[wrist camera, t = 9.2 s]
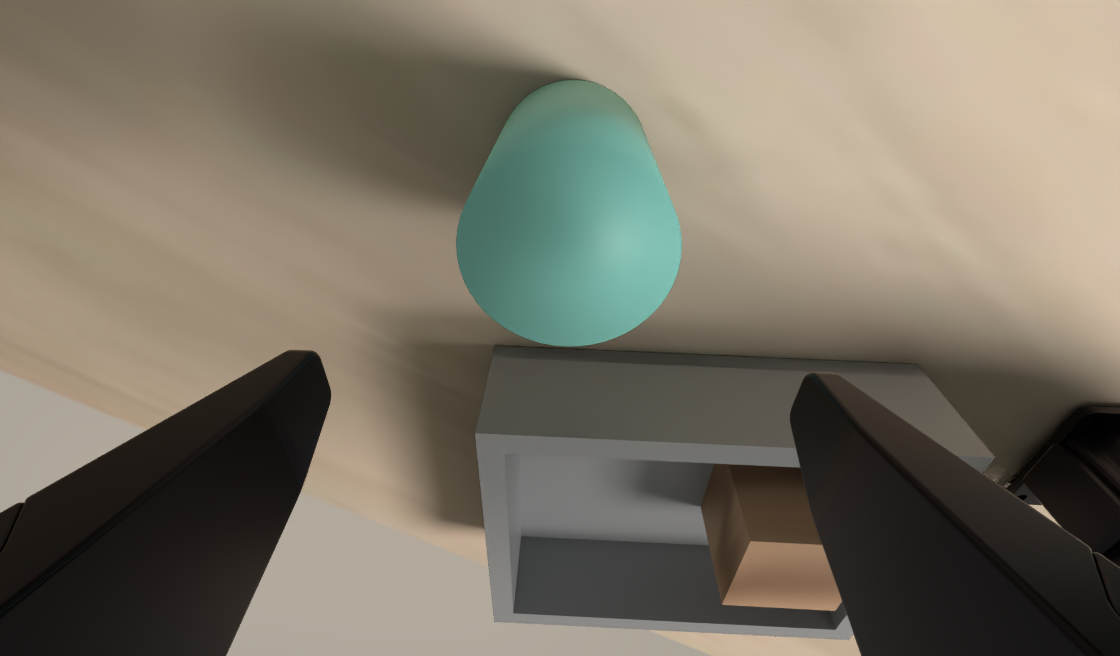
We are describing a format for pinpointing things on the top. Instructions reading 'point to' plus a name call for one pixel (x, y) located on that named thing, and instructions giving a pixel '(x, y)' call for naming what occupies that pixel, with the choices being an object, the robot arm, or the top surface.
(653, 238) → the teal capsule
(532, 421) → the grey rectangular tray
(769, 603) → the tan wooden cube
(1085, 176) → the top surface
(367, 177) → the top surface
